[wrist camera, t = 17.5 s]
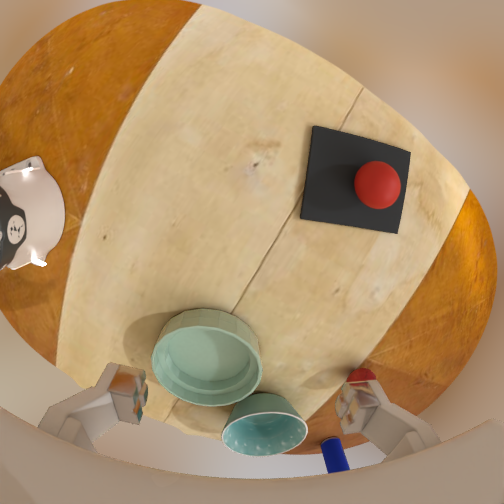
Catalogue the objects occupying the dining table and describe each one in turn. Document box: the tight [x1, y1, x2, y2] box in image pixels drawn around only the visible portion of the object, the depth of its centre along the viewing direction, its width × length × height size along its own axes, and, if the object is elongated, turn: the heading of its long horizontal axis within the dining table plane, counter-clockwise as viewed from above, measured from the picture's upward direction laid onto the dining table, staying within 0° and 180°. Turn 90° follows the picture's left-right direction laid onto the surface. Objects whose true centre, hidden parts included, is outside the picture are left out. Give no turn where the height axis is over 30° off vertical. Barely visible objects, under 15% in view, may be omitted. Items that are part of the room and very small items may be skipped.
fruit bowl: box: [151, 308, 263, 407], centre depth 41 cm, size 17×17×6 cm
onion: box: [346, 368, 376, 382], centre depth 43 cm, size 6×6×8 cm
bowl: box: [221, 393, 308, 457], centre depth 44 cm, size 16×16×8 cm
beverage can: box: [321, 437, 350, 474], centre depth 48 cm, size 5×5×15 cm
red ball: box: [354, 161, 401, 209], centre depth 32 cm, size 6×6×6 cm
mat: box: [300, 126, 411, 234], centre depth 36 cm, size 16×13×1 cm
